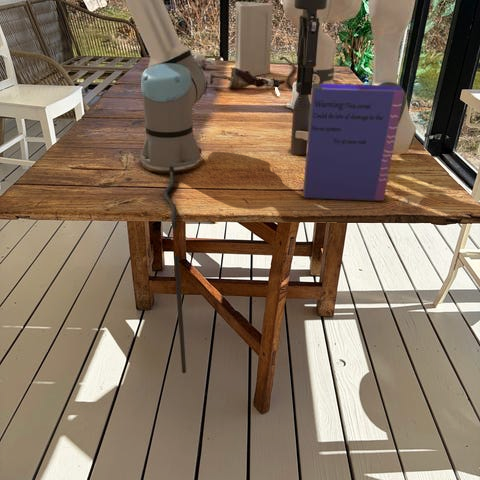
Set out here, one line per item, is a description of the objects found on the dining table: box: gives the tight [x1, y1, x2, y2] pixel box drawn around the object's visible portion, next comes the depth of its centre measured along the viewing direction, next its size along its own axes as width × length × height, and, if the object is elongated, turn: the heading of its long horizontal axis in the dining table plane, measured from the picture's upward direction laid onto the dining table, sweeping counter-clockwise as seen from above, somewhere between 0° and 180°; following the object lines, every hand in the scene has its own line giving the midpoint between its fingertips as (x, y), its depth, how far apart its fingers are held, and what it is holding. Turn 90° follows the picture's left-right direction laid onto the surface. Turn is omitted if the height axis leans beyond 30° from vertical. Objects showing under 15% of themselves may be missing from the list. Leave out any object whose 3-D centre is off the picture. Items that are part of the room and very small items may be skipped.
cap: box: [296, 82, 301, 93], centre depth 122 cm, size 4×4×2 cm
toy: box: [191, 50, 218, 67], centre depth 224 cm, size 24×25×7 cm
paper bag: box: [234, 1, 274, 77], centre depth 210 cm, size 19×15×28 cm
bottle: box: [289, 93, 311, 156], centre depth 127 cm, size 5×5×18 cm
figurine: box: [209, 66, 287, 89], centre depth 190 cm, size 24×8×30 cm
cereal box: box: [302, 83, 405, 202], centre depth 102 cm, size 17×5×24 cm, turn 86°
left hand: (303, 90), depth 123 cm, fingers open, 6 cm apart
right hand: (297, 130), depth 128 cm, fingers closed on bottle, 4 cm apart
